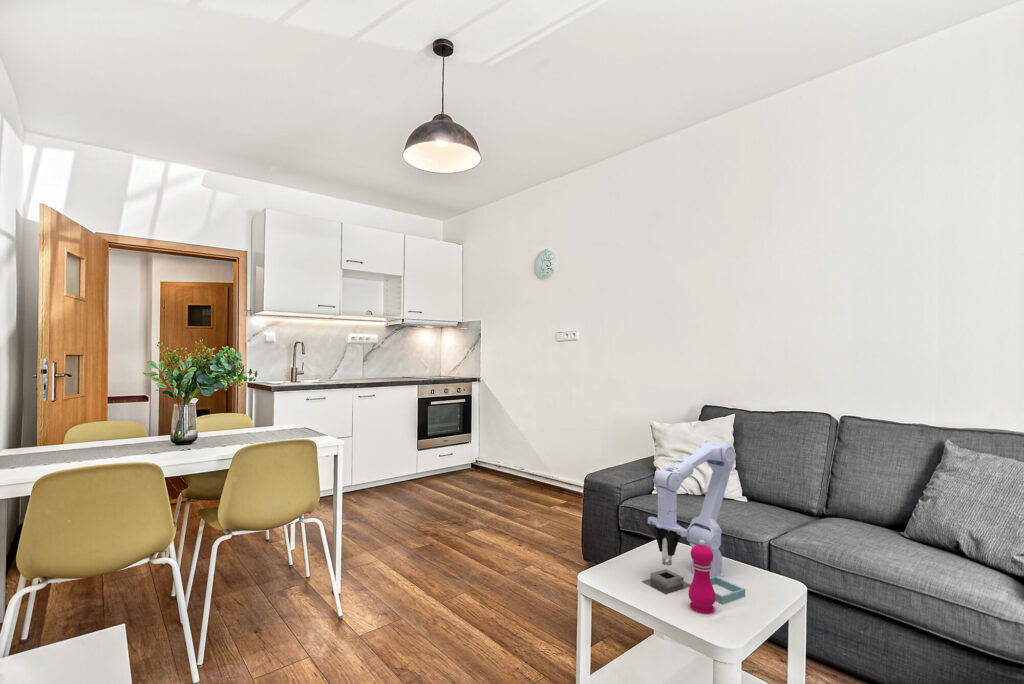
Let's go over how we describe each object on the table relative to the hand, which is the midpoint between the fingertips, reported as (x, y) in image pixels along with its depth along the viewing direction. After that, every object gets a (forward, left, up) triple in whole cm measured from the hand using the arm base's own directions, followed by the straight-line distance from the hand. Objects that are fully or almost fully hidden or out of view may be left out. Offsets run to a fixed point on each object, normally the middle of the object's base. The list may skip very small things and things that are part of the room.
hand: (666, 553), depth 156 cm
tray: (-9, +12, -10) cm, 18 cm away
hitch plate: (0, 0, -10) cm, 10 cm away
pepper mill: (+3, +16, -11) cm, 19 cm away
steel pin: (0, 0, -3) cm, 3 cm away
